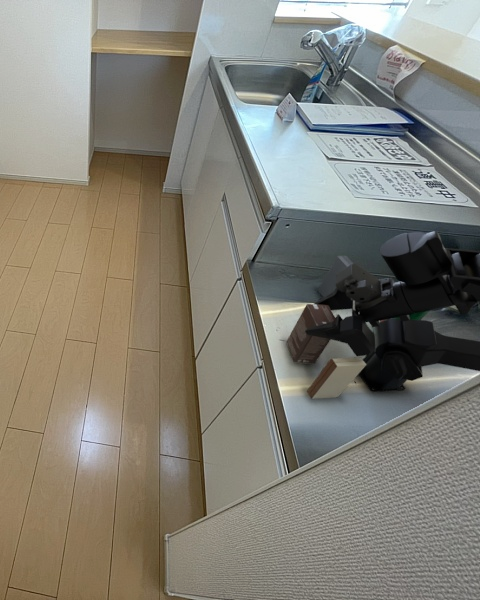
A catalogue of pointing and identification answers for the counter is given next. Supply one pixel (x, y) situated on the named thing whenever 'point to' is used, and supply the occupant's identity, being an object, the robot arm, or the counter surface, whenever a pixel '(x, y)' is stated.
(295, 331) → the box
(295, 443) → the counter surface
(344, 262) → the grey books
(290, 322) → the counter surface
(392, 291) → the robot arm
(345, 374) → the cream books
